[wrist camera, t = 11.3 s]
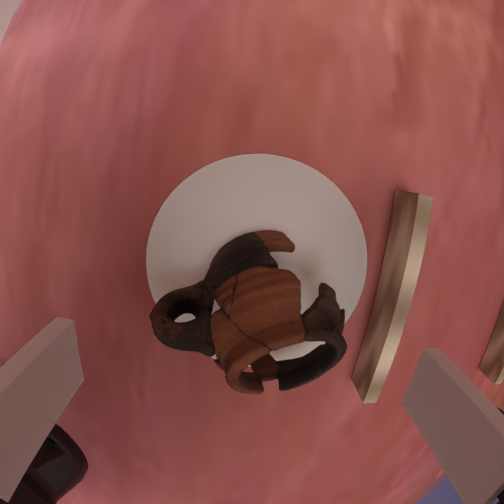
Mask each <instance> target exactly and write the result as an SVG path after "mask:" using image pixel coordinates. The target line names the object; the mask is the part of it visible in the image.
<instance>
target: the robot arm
mask: <svg viewBox="0 0 504 504" xmlns="http://www.w3.org/2000/svg"><path fill="white" fill-rule="evenodd" d="M83 382H84V376H83V371H82V366H81V361H80V355H79V349H78V343H77V337H76V330H75V322H74V320H72V319H67V318H63V317H58V316H57V317H56V318H55V319H54V320H53V321H52V322H50V323H49V324H48V325H47V326H46V327H45V328H43V329H42V330H41V331H40V332H39V333H38V334H37V335H35V336H34V337H33V338H32V339H31V340H30V341H29V342H28V343H26V344H25V345H24V346H23V347H22V348H21V349H20V350H19V351H18V352H16V353H15V354H14V355H13V356H12V357H11V358H10V359H9V360H8V361H7V362H6V363H5V364H4V365H2V366H1V367H0V504H56V503H57V501H58V500H59V499H60V498H62V497H63V496H64V495H65V494H66V493H68V492H69V491H70V490H71V489H72V488H73V487H75V486H76V485H77V484H78V483H79V482H80V481H82V479H83V478H84V476H85V474H86V472H87V469H88V463H87V460H86V458H85V456H84V454H83V452H82V451H81V449H80V448H79V447H78V445H77V444H76V443H75V442H74V441H73V439H72V438H71V437H70V436H69V435H68V434H67V433H66V432H65V431H64V430H63V429H61V428H60V427H59V426H58V425H57V424H56V422H57V420H58V419H59V417H60V416H61V414H62V413H63V411H64V410H65V408H66V407H67V405H68V404H69V402H70V401H71V399H72V398H73V396H74V395H75V393H76V392H77V390H78V389H79V387H80V386H81V385H82V383H83ZM401 403H402V405H403V406H404V408H405V409H406V411H407V412H408V414H409V415H410V417H411V419H412V420H413V422H414V423H415V425H416V426H417V428H418V429H419V431H420V433H421V434H422V436H423V437H424V439H425V441H426V442H427V444H428V445H429V447H430V449H431V450H432V452H433V453H434V455H435V457H436V458H437V460H438V462H439V463H440V465H441V466H442V468H443V470H444V471H445V473H446V475H447V476H448V478H449V480H450V481H451V483H452V485H453V486H454V488H455V490H456V492H457V493H458V495H459V496H460V498H461V500H462V502H463V503H464V504H490V503H492V501H494V500H495V498H496V497H498V499H499V502H498V503H497V504H504V412H503V411H502V410H501V409H499V408H497V407H496V406H495V405H494V404H493V403H492V402H491V401H490V400H489V399H488V398H487V397H486V396H485V395H484V394H483V393H482V392H481V391H480V390H479V389H478V388H477V386H476V385H475V384H474V383H473V382H472V381H471V380H470V379H469V378H468V377H467V376H466V375H465V374H464V373H463V372H462V371H461V370H460V369H459V368H458V367H457V366H456V365H455V364H454V363H453V362H452V361H451V360H450V359H448V358H447V357H446V356H445V355H444V354H443V353H442V352H441V351H440V350H439V349H438V348H423V351H422V353H421V356H420V359H419V361H418V364H417V366H416V369H415V371H414V374H413V376H412V379H411V381H410V384H409V386H408V388H407V391H406V393H405V395H404V397H403V399H402V402H401Z"/></svg>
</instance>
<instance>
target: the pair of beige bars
mask: <svg viewBox="0 0 504 504" xmlns="http://www.w3.org/2000/svg"><path fill="white" fill-rule="evenodd" d="M432 204H433V197H432V196H427V195H423V194H419V193H412V192H405V191H398V190H395V196H394V203H393V210H392V216H391V222H390V228H389V234H388V239H387V245H386V250H385V255H384V260H383V264H382V269H381V274H380V278H379V282H378V287H377V291H376V295H375V299H374V303H373V307H372V311H371V315H370V318H369V322H368V326H367V329H366V333H365V336H364V340H363V343H362V346H361V350H360V353H359V356H358V359H357V363H356V366H355V369H354V372H353V375H352V378H351V379H352V381H353V383H354V385H355V387H356V389H357V391H358V394H359V396H360V398H361V400H362V402H363V403H375V402H377V399H378V397H379V395H380V392H381V390H382V387H383V385H384V382H385V380H386V377H387V375H388V372H389V370H390V367H391V364H392V361H393V359H394V356H395V353H396V350H397V347H398V344H399V341H400V338H401V335H402V332H403V329H404V326H405V323H406V320H407V316H408V313H409V309H410V306H411V302H412V299H413V295H414V291H415V288H416V284H417V280H418V276H419V271H420V267H421V263H422V258H423V254H424V249H425V244H426V239H427V234H428V228H429V223H430V217H431V210H432ZM479 369H480V370H481V371H482V372H483V373H484V374H485V375H486V376H487V377H488V378H489V379H490V380H491V381H492V382H493V383H494V384H495V385H496V384H500V383H501V382H502V380H503V378H504V302H503V306H502V309H501V312H500V315H499V318H498V320H497V323H496V326H495V329H494V331H493V334H492V337H491V339H490V342H489V344H488V347H487V349H486V352H485V354H484V356H483V359H482V361H481V363H480V365H479Z"/></svg>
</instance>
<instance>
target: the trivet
mask: <svg viewBox="0 0 504 504" xmlns="http://www.w3.org/2000/svg"><path fill="white" fill-rule="evenodd" d="M262 230H275V231H280V232H283V233H284V234H285V235H286V236H287V237H288V238H289V239H290V240H291V241H292V242H293V243H294V245H295V250H294V252H292V253H290V252H269V253H270V255H271V256H272V257H273V258H274V260H275V261H276V262H277V264H278V268H279V269H286V270H290V271H292V272H293V273H294V274H295V275H296V276H297V278H298V279H299V280H300V282H301V311H300V313H301V314H302V313H304V312H305V311H306V310H307V309H308V308H310V306H311V305H312V304H313V302H314V301H315V299H316V298H317V297H318V296H319V292H318V291H319V290H318V289H319V285H320V283H326V284H327V285H329V286H330V287H331V288H333V289H334V290H335V293H336V301H337V303H338V305H339V307H340V310H341V309H344V310H345V323H346V322H347V320H348V319H349V318H350V316H351V314H352V313H353V311H354V309H355V308H356V306H357V303H358V301H359V299H360V296H361V294H362V290H363V287H364V283H365V278H366V272H367V248H366V240H365V236H364V232H363V228H362V225H361V223H360V221H359V218H358V216H357V213H356V212H355V210H354V208H353V207H352V205H351V203H350V202H349V200H348V199H347V198H346V196H345V195H344V194H343V193H342V191H341V190H340V189H339V188H338V187H337V186H336V185H335V184H334V183H333V182H332V181H331V180H330V179H328V178H327V177H326V176H324V175H323V174H321V173H320V172H319V171H317V170H316V169H314V168H312V167H310V166H308V165H306V164H304V163H302V162H299V161H296V160H293V159H290V158H287V157H282V156H277V155H272V154H244V155H237V156H232V157H228V158H224V159H221V160H219V161H216V162H213V163H211V164H208V165H207V166H205V167H203V168H201V169H199V170H198V171H196V172H194V173H193V174H192V175H190V176H189V177H188V178H186V179H185V180H184V181H182V182H181V183H180V184H179V185H178V186H177V187H176V188H175V189H174V190H173V191H172V193H171V194H170V195H169V196H168V198H167V199H166V200H165V202H164V203H163V205H162V206H161V208H160V210H159V212H158V214H157V215H156V217H155V220H154V222H153V225H152V228H151V230H150V234H149V239H148V243H147V251H146V272H147V278H148V283H149V288H150V291H151V294H152V297H153V300H154V302H155V304H156V303H157V302H158V300H159V299H160V298H161V297H163V296H164V295H165V294H167V293H169V292H171V291H173V290H176V289H179V288H184V287H187V286H191V285H194V284H196V283H198V282H199V281H201V280H204V277H205V276H206V273H207V271H208V269H209V267H210V263H211V261H212V259H213V258H214V256H215V255H216V254H217V252H218V250H219V249H220V248H221V247H222V246H224V245H225V244H226V243H228V242H229V241H231V240H233V239H234V238H236V237H238V236H241V235H243V234H246V233H249V232H255V231H262ZM219 309H220V306H218V304H217V302H216V300H215V299H214V304H213V310H212V314H213V312H215V311H217V310H219ZM212 314H211V315H212ZM193 319H195V316H194V315H193V314H189V313H186V314H183V315H181V316H179V317H178V318H177V319H176V320H175V321H174V322H187V321H191V320H193ZM345 323H344V324H345ZM321 344H323V345H324V344H325V342H322V341H318V342H317V341H315V342H306V341H305V342H302V343H298V344H294V345H290V346H287V347H284V348H281V349H278V350H275V351H271V352H270V353H269V354H270V355H271V356H273V358H274V359H275V360H276V361H280V360H287V359H295V358H299V357H302V356H304V355H306V354H308V353H309V352H311V351H312V350H314V349H315V348H316V347H318V346H319V345H321ZM211 358H213V359H217V358H216V355H214V356H212V357H211ZM248 367H251V366H250V365H249V366H248Z"/></svg>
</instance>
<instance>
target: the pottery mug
mask: <svg viewBox="0 0 504 504" xmlns="http://www.w3.org/2000/svg"><path fill="white" fill-rule="evenodd" d="M294 250H295V245H294V243H293V242H292V241H291V240H290V239H289V238H288V237H287V236H286V235H285V234H284V233H283V232H280V231H275V230H262V231H255V232H249V233H246V234H243V235H241V236H238V237H236V238H234V239H233V240H231V241H229V242H228V243H226V244H225V245H224V246H222V247H221V248H220V249H219V250H218V252H217V254H216V255H215V256H214V258H213V259H212V261H211V263H210V267H209V269H208V271H207V273H206V276H205V277H204V280H201V281H199V282H198V283H196V284H194V285H191V286H187V287H184V288H179V289H176V290H173V291H171V292H169V293H167V294H165V295H164V296H163V297H161V298H160V299H159V300H158V302H157V303H156V305H155V306H154V308H153V310H152V312H151V313H150V320H151V322H152V328H153V331H154V335H155V336H156V337H157V339H158V340H159V341H161V342H162V343H163V344H164V345H166V346H168V347H170V348H173V349H177V350H183V351H195V352H200V353H202V354H204V355H206V356H208V357H212V356H214V355H216V358H217V359H216V360H215V361H214V362H215V363H216V364H217V366H219V367H220V368H221V369H222V370H223V371H225V374H226V376H225V378H226V381H227V383H228V385H229V386H230V387H231V388H232V389H234V390H236V391H239V392H242V393H248V394H261V393H263V391H264V388H263V385H262V381H270V380H274V379H278V381H279V390H280V391H283V390H289V389H292V388H296V387H299V386H301V385H304V384H306V383H309V382H310V381H313V380H314V379H316V378H318V377H320V376H321V375H323V374H324V373H325V372H327V371H329V370H330V369H331V368H332V367H334V366H335V365H336V364H337V363H338V362H339V361H340V360H341V359H342V357H343V356H344V354H345V352H346V349H347V344H346V341H345V339H344V337H343V336H342V335H341V334H342V332H343V328H344V323H345V310H344V309H341V310H340V307H339V305H338V303H337V301H336V293H335V290H334V289H333V288H331V287H330V286H329V285H327V284H326V283H320V285H319V289H318V290H319V291H318V292H319V296H318V297H317V298H316V299H315V301H314V302H313V304H312V305H311V306H310V308H308V309H307V310H306V311H305V312H304V313H302V314H301V313H300V311H301V282H300V280H299V279H298V278H297V276H296V275H295V274H294V273H293V272H292V271H290V270H286V269H279V268H278V264H277V262H276V261H275V260H274V258H273V257H272V256H271V255H270V253H269V252H290V253H292V252H294ZM214 299H215V300H216V302H217V304H218V306H220V309H219V310H217V311H215V312H213V314H212V310H213V304H214ZM186 313H189V314H193V315H194V316H195V319H193V320H191V321H187V322H174V321H175V320H176V319H177V318H178V317H179V316H181V315H183V314H186ZM211 314H212V315H211ZM305 341H306V342H315V341H317V342H318V341H322V342H325V344H324V345H323V344H321V345H319V346H318V347H316V348H315V349H314V350H312V351H311V352H309V353H308V354H306V355H304V356H302V357H299V358H295V359H287V360H280V361H276V360H275V359H274V358H273V356H271V355H270V354H269V353H270V352H271V351H275V350H278V349H281V348H284V347H287V346H290V345H294V344H298V343H302V342H305ZM249 365H250V366H251V367H252V370H253V372H252V373H250V372H242V371H243V370H244V369H245V368H246V367H248V366H249Z"/></svg>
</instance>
